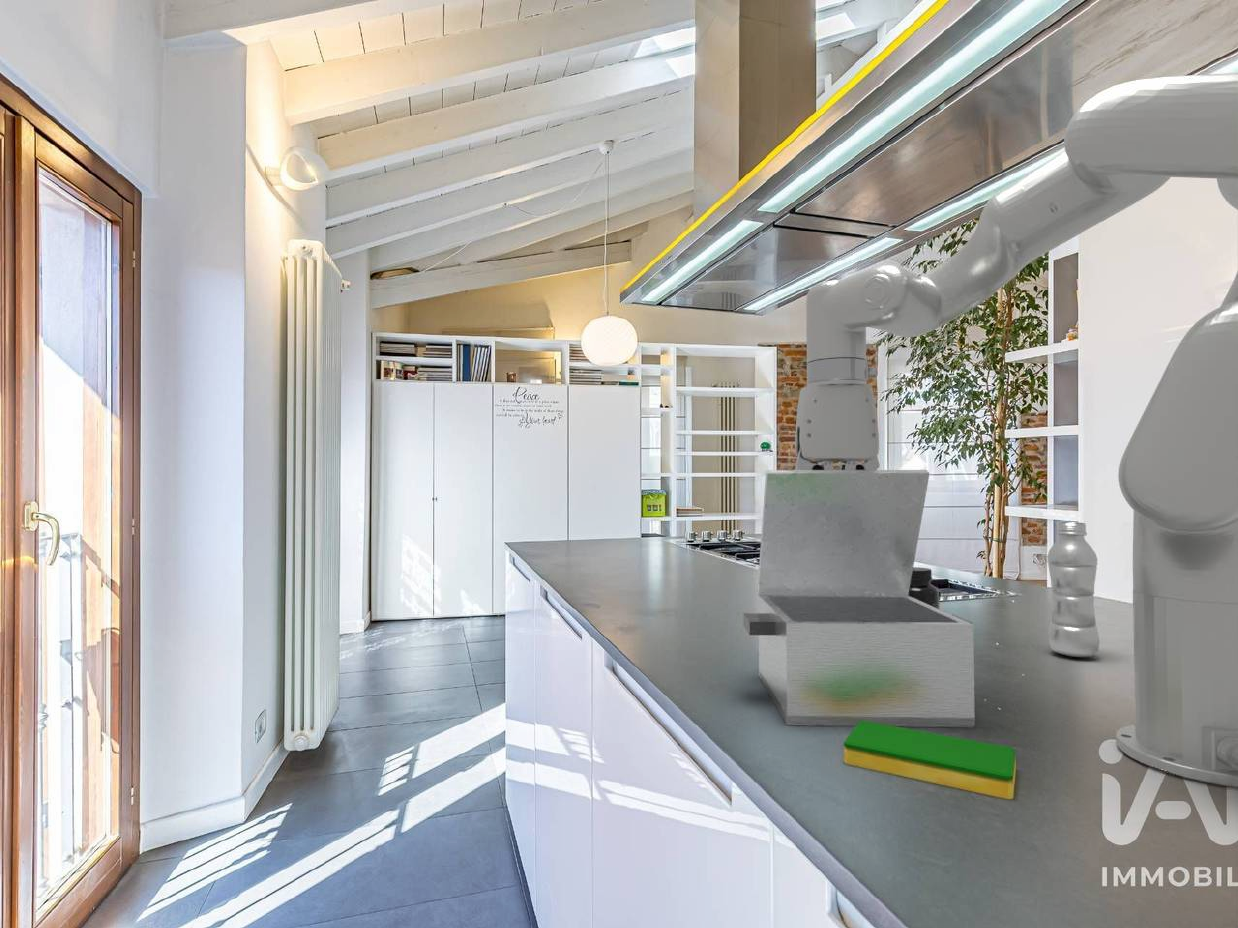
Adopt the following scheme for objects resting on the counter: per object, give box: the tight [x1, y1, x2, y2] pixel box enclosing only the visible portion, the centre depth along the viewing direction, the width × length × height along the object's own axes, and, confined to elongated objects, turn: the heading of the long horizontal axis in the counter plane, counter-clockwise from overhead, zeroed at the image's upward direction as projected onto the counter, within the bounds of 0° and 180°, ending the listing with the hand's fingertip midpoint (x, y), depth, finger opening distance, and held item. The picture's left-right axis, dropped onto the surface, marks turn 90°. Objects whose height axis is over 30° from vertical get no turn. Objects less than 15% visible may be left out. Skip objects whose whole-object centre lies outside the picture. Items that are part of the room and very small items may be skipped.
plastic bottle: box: [1046, 521, 1100, 658], centre depth 102 cm, size 6×7×20 cm
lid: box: [757, 469, 930, 596], centre depth 89 cm, size 18×20×3 cm
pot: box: [742, 595, 976, 728], centre depth 82 cm, size 18×26×11 cm
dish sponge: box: [843, 721, 1017, 800], centre depth 63 cm, size 7×14×2 cm, turn 58°
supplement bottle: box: [908, 566, 941, 610], centre depth 110 cm, size 7×7×12 cm
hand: (837, 514), depth 89 cm, fingers closed
